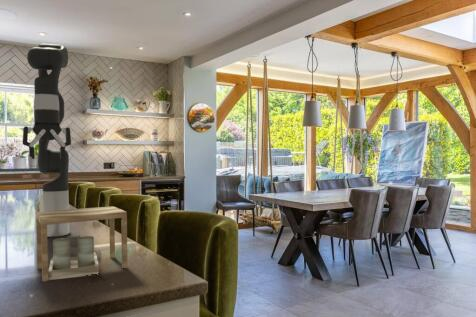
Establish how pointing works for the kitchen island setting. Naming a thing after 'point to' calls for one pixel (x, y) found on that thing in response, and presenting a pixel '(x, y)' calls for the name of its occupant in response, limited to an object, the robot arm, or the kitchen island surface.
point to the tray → (73, 257)
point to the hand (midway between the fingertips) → (47, 158)
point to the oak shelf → (78, 216)
